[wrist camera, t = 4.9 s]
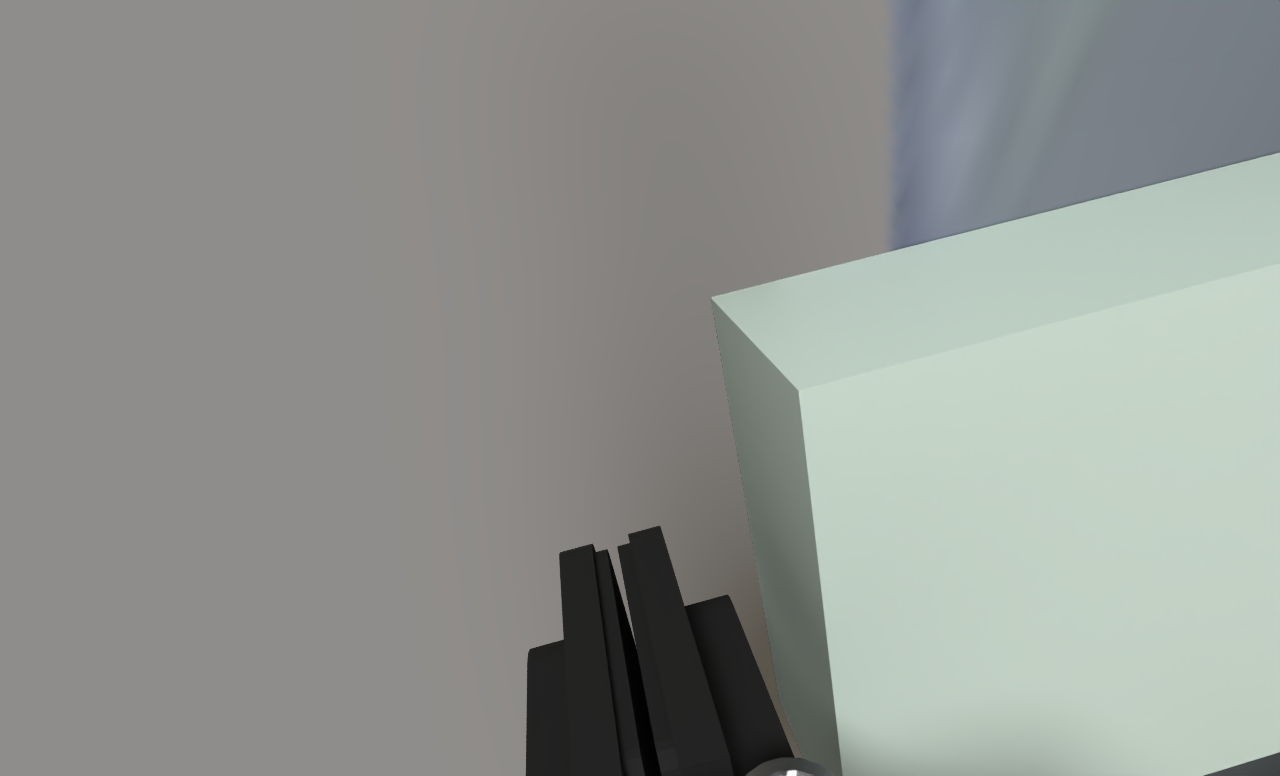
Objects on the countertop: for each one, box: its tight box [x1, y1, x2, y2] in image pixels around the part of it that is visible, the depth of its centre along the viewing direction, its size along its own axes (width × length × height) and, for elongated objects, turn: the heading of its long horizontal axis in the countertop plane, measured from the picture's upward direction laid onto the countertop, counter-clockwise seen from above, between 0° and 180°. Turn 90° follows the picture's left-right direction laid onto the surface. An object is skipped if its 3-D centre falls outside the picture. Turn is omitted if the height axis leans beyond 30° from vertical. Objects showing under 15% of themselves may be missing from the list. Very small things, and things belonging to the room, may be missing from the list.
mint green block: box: [711, 153, 1280, 776], centre depth 10 cm, size 9×16×4 cm, turn 102°
